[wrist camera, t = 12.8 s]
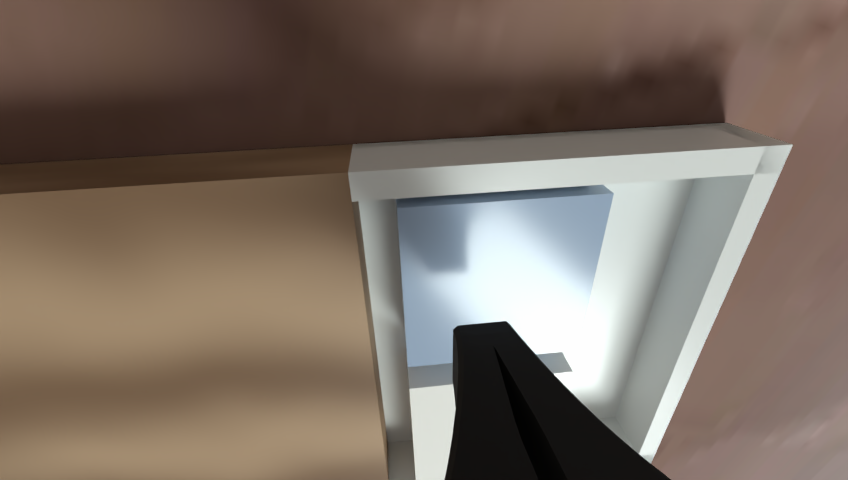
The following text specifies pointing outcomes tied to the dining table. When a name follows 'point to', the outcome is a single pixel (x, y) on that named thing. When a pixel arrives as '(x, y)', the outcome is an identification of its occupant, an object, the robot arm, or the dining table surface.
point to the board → (187, 320)
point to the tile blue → (499, 265)
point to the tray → (618, 262)
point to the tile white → (447, 412)
